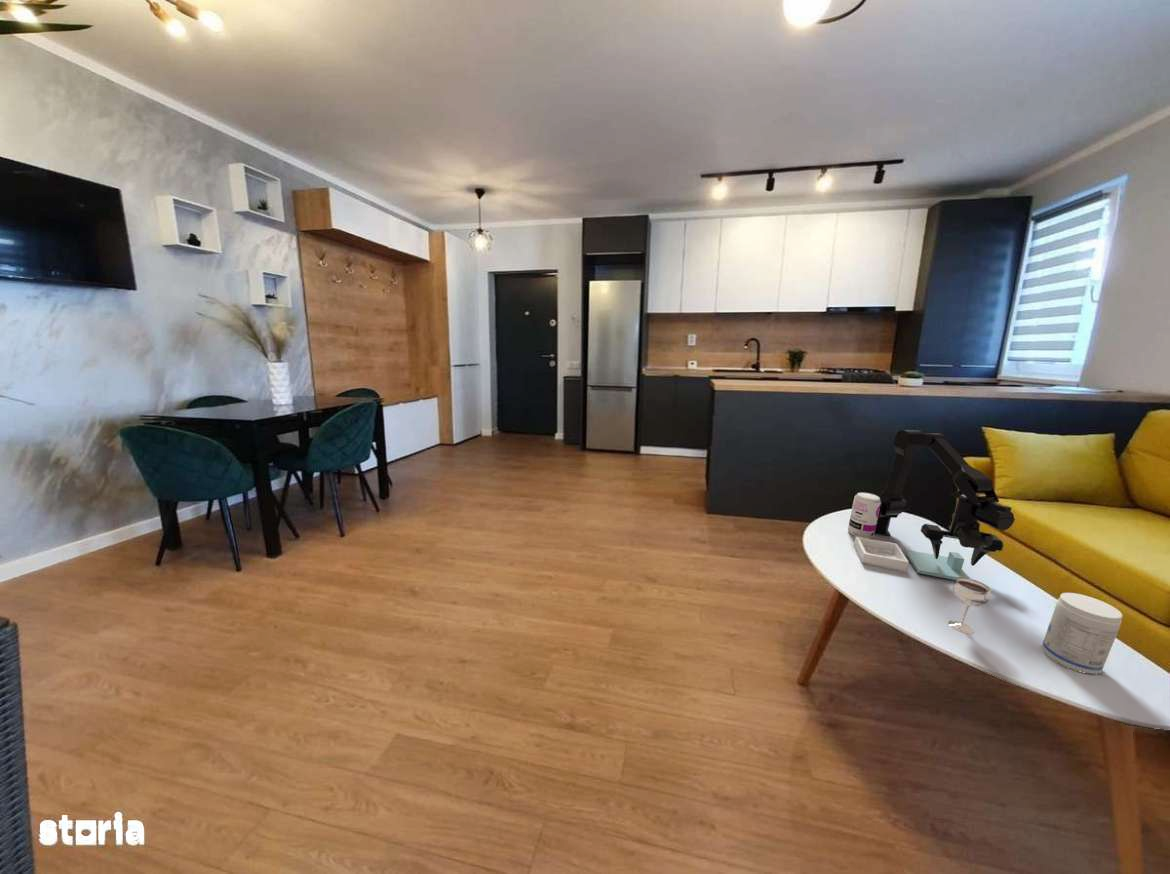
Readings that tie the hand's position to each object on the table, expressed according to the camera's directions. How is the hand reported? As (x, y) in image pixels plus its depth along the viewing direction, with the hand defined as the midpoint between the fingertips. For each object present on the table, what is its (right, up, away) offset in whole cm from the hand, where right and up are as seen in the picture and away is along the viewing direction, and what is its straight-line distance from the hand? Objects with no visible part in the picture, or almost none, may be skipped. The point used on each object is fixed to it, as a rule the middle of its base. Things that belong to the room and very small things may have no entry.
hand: (953, 561), depth 135 cm
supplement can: (-14, +3, +25) cm, 28 cm away
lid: (-4, -2, +2) cm, 5 cm away
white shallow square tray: (-18, -1, +8) cm, 20 cm away
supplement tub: (-3, -13, -35) cm, 38 cm away
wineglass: (-20, -9, -25) cm, 33 cm away
